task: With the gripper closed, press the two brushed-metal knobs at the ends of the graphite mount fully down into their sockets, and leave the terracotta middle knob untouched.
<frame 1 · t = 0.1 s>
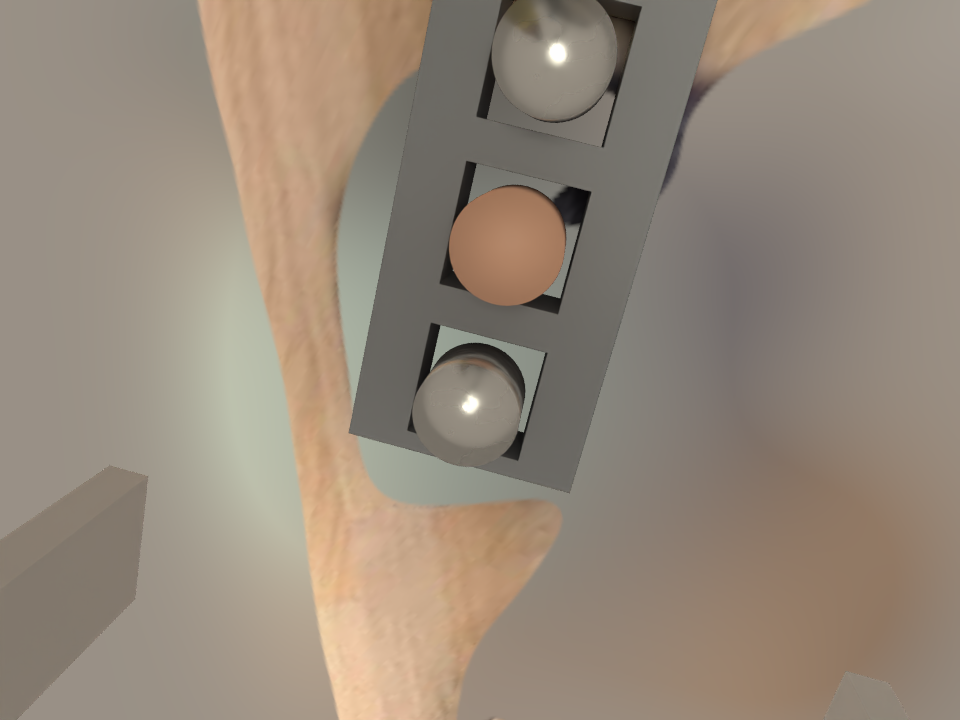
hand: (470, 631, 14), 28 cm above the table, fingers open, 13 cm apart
knob 1: (555, 59, 32), point 5 cm above the table, slide at 0.0 cm
middle knob: (510, 243, 34), point 5 cm above the table, slide at 0.0 cm
knob 2: (471, 402, 36), point 5 cm above the table, slide at 0.0 cm
knob mount: (519, 230, 39), on the table
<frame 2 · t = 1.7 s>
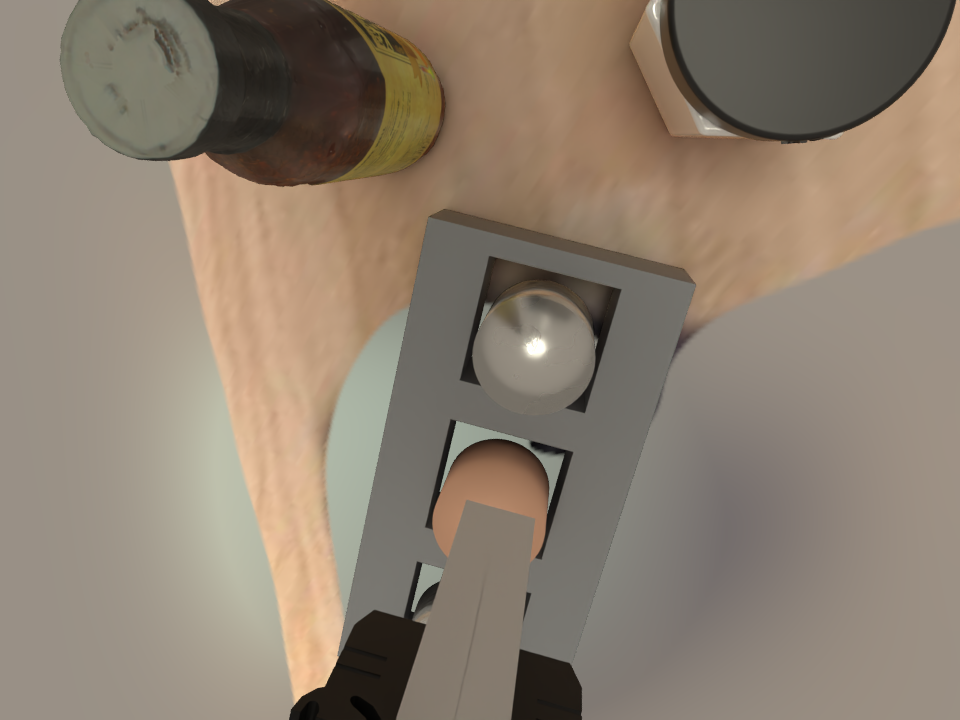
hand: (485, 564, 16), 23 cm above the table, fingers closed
knob 1: (536, 345, 32), point 5 cm above the table, slide at 0.0 cm
middle knob: (493, 505, 35), point 5 cm above the table, slide at 0.0 cm
sauce bottle: (382, 106, 36), on the table
jar: (730, 46, 33), on the table
knob 2: (456, 644, 37), point 5 cm above the table, slide at 0.0 cm
knob mount: (505, 457, 40), on the table
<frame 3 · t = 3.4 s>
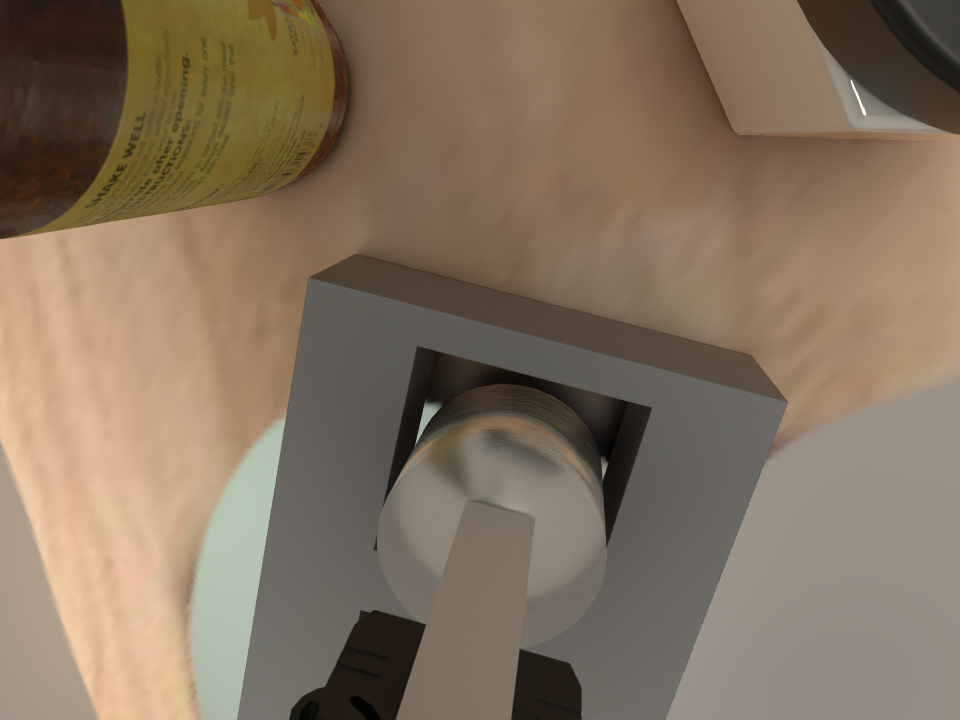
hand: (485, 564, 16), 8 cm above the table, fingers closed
knob 1: (499, 507, 18), point 5 cm above the table, slide at 0.1 cm, touching gripper
sauce bottle: (249, 84, 22), on the table
knob mount: (461, 635, 26), on the table
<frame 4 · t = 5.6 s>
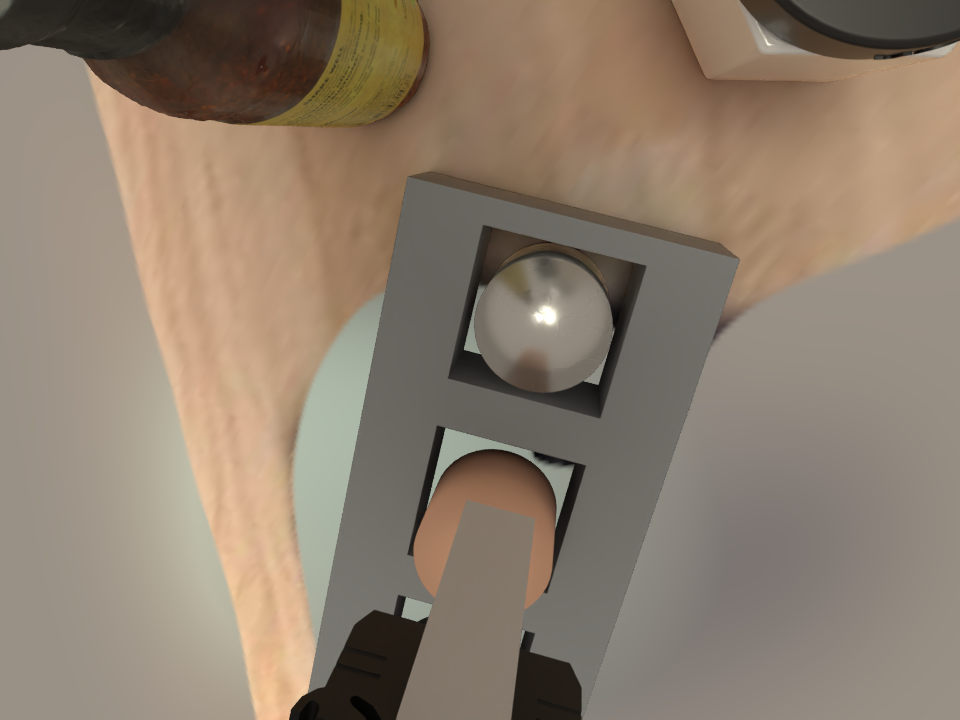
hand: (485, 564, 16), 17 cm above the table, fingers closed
knob 1: (545, 314, 29), point 2 cm above the table, slide at 3.1 cm
middle knob: (488, 530, 28), point 5 cm above the table, slide at 0.0 cm
sauce bottle: (354, 46, 30), on the table
knob 2: (445, 695, 31), point 5 cm above the table, slide at 0.0 cm
knob mount: (503, 469, 34), on the table
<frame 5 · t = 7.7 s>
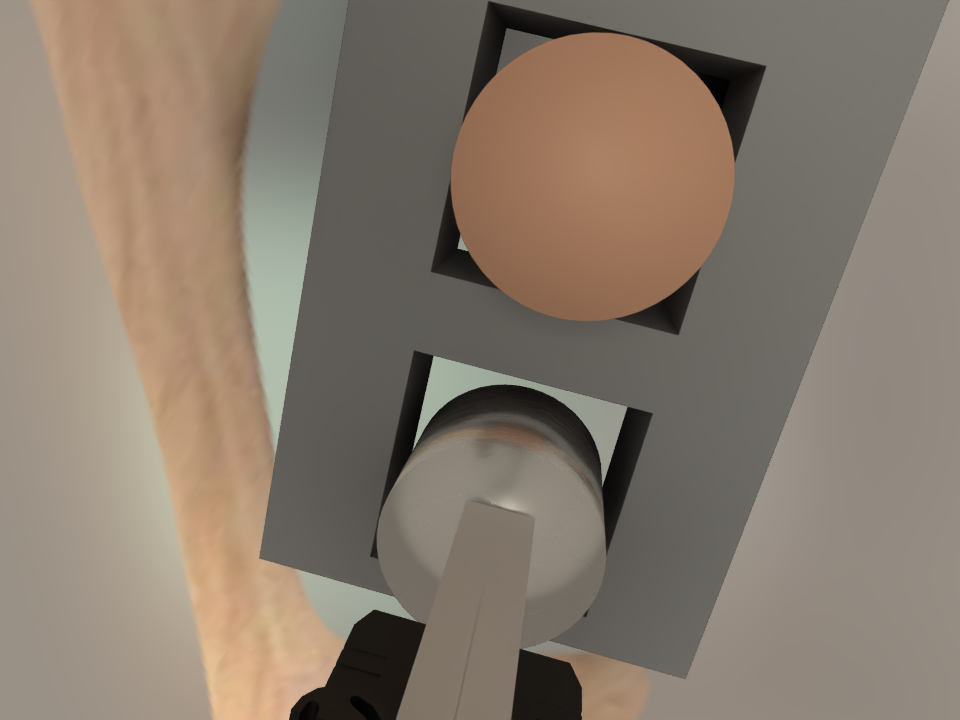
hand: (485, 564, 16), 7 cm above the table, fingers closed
middle knob: (588, 178, 15), point 5 cm above the table, slide at 0.0 cm
knob 2: (499, 508, 18), point 5 cm above the table, slide at 0.5 cm, touching gripper
knob mount: (586, 169, 20), on the table
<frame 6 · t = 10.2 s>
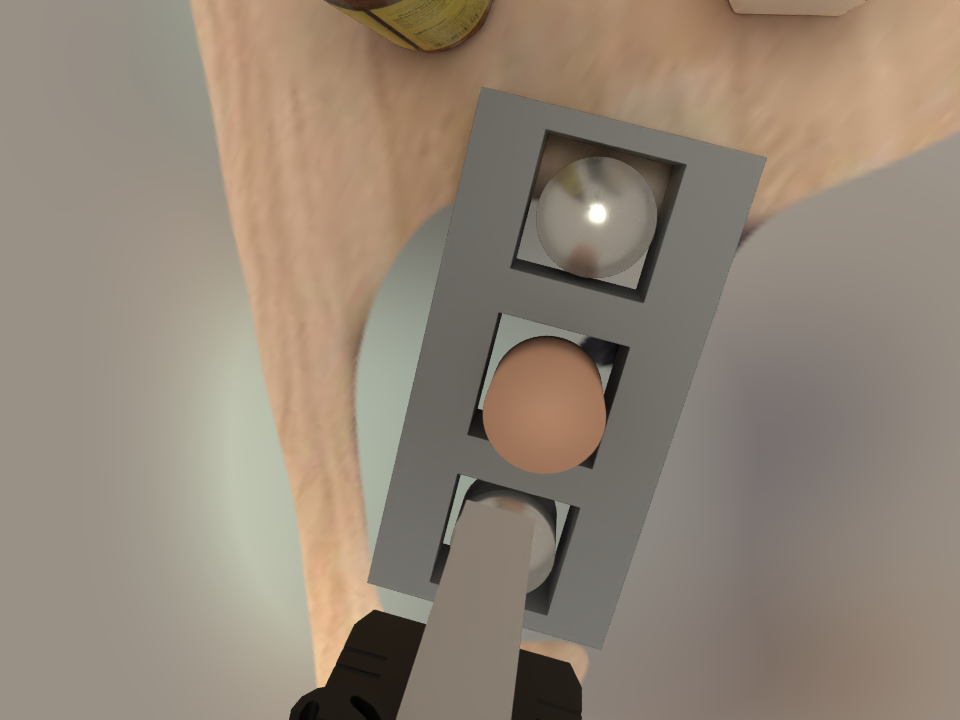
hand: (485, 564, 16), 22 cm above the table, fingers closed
knob 1: (594, 215, 33), point 2 cm above the table, slide at 3.1 cm
middle knob: (545, 402, 32), point 5 cm above the table, slide at 0.0 cm
knob 2: (505, 531, 37), point 2 cm above the table, slide at 3.0 cm
knob mount: (548, 369, 38), on the table
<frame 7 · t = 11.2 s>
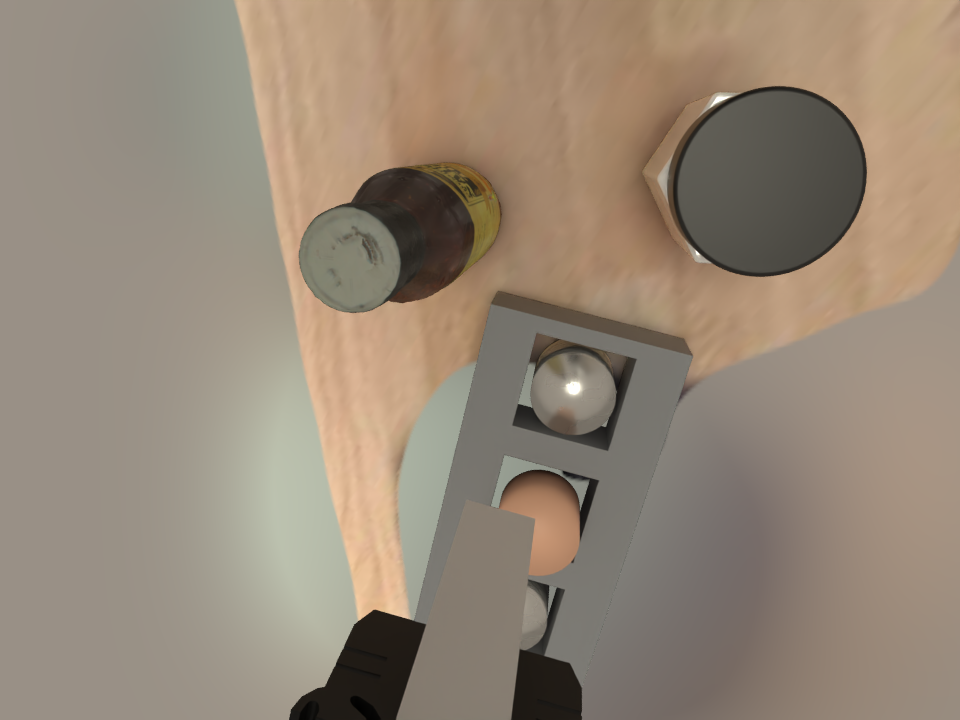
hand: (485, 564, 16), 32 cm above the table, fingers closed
knob 1: (573, 385, 46), point 2 cm above the table, slide at 3.1 cm
middle knob: (538, 521, 45), point 5 cm above the table, slide at 0.0 cm
sauce bottle: (451, 213, 47), on the table
jar: (718, 174, 44), on the table
knob 2: (511, 601, 51), point 2 cm above the table, slide at 3.0 cm
knob mount: (542, 482, 50), on the table
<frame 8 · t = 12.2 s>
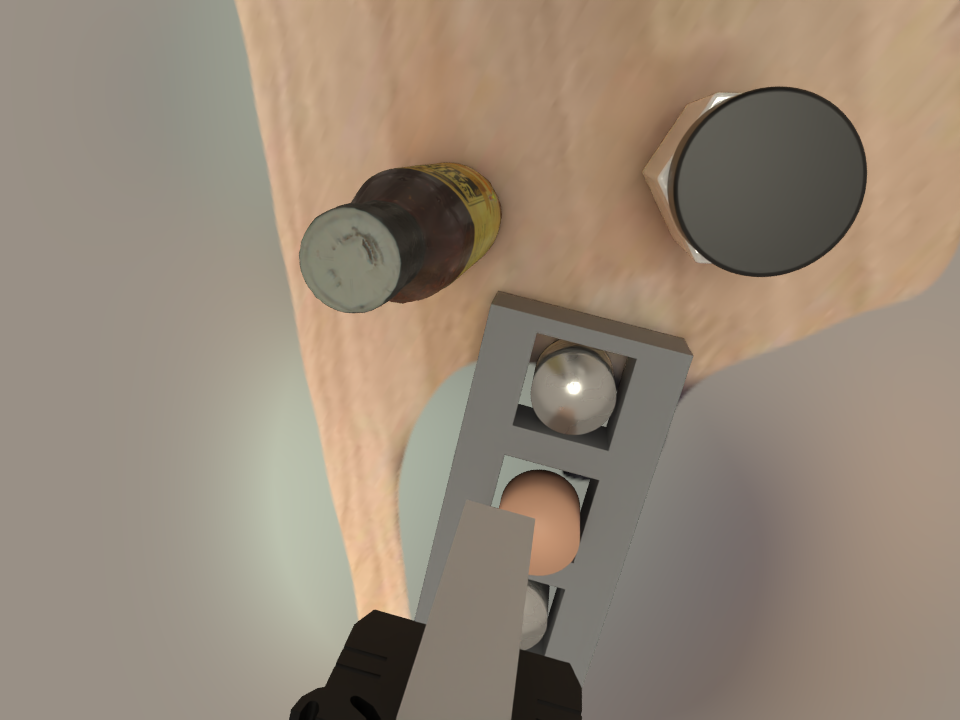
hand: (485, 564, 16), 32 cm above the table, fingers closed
knob 1: (573, 384, 46), point 2 cm above the table, slide at 3.1 cm
middle knob: (538, 521, 45), point 5 cm above the table, slide at 0.0 cm
sauce bottle: (451, 213, 47), on the table
jar: (719, 174, 44), on the table
knob 2: (511, 601, 51), point 2 cm above the table, slide at 3.0 cm
knob mount: (542, 482, 50), on the table
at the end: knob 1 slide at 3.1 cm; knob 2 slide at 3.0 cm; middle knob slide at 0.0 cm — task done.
